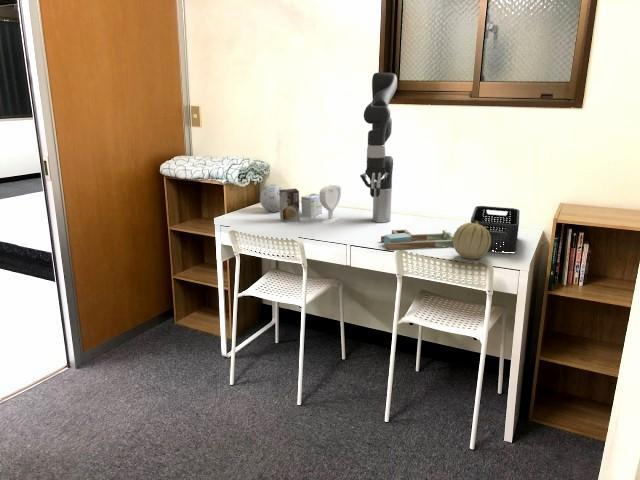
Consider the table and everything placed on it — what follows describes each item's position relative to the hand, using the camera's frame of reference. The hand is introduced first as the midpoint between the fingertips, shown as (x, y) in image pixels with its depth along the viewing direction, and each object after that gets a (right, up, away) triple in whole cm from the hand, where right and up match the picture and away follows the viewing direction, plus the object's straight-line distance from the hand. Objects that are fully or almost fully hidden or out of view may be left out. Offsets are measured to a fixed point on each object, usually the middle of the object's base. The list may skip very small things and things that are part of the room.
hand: (374, 196), depth 214 cm
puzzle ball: (-49, -3, +68) cm, 84 cm away
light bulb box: (-28, -5, +60) cm, 66 cm away
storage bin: (+54, -20, +11) cm, 58 cm away
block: (+11, -21, +8) cm, 25 cm away
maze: (+19, -19, +13) cm, 30 cm away
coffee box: (-39, -8, +49) cm, 63 cm away
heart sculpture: (-18, -8, +49) cm, 53 cm away
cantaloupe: (+38, -26, -9) cm, 47 cm away
